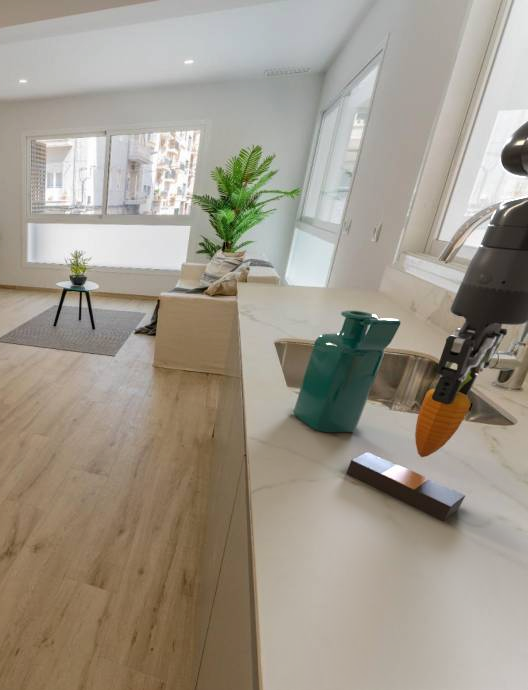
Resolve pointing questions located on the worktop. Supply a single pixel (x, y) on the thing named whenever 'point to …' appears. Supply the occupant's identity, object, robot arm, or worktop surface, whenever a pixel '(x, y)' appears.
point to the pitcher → (343, 372)
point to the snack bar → (406, 485)
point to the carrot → (439, 421)
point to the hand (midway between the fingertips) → (449, 397)
